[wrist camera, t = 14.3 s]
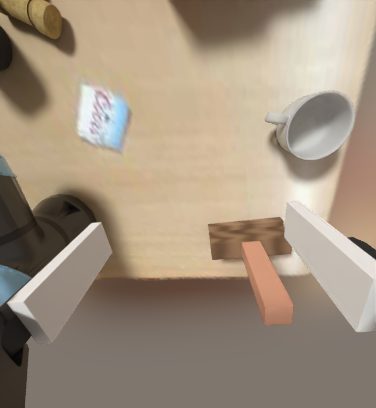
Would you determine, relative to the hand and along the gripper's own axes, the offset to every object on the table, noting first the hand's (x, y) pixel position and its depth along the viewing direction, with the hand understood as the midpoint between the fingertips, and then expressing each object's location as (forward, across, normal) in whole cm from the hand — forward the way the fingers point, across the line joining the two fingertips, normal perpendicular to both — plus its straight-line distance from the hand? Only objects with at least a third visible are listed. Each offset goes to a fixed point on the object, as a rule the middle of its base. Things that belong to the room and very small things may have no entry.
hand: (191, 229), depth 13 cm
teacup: (+31, +20, +4) cm, 37 cm away
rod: (+24, +10, -21) cm, 33 cm away
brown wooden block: (+31, +10, -21) cm, 39 cm away
